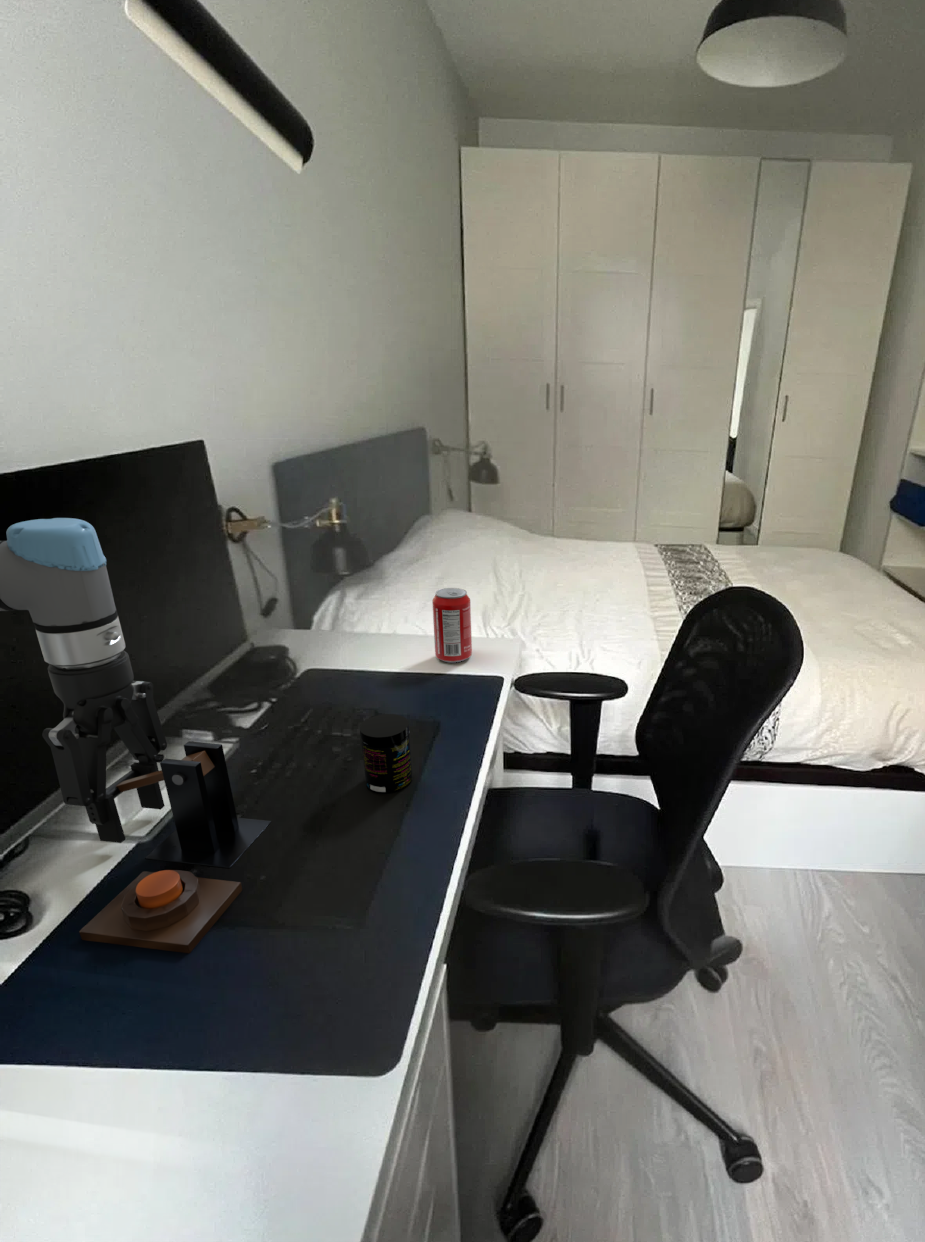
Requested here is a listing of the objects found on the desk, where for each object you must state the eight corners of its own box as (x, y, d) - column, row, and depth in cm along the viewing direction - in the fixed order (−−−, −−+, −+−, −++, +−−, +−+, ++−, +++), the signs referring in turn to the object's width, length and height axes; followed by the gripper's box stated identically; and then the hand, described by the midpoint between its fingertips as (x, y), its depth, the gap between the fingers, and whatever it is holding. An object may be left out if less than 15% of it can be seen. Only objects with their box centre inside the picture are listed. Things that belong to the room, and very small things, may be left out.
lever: (98, 811, 78) (87, 795, 77) (136, 783, 84) (125, 768, 83) (192, 785, 75) (181, 768, 74) (224, 758, 81) (214, 742, 80)
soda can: (446, 668, 135) (443, 600, 129) (428, 656, 141) (425, 590, 135) (478, 659, 140) (477, 593, 134) (460, 648, 145) (458, 584, 140)
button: (129, 907, 68) (126, 894, 67) (157, 880, 72) (153, 867, 71) (165, 911, 68) (161, 898, 67) (191, 884, 71) (187, 871, 71)
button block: (84, 947, 67) (73, 918, 66) (147, 885, 76) (139, 858, 74) (191, 961, 66) (184, 931, 65) (244, 896, 75) (238, 869, 73)
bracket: (146, 865, 79) (119, 769, 73) (195, 819, 87) (175, 730, 82) (231, 875, 78) (210, 778, 72) (273, 828, 86) (257, 738, 81)
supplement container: (420, 776, 98) (416, 716, 94) (403, 802, 92) (397, 739, 88) (378, 771, 99) (372, 711, 95) (358, 797, 93) (350, 734, 89)
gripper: (43, 696, 64) (100, 878, 73) (176, 630, 82) (209, 783, 91) (-25, 690, 65) (40, 871, 74) (121, 625, 83) (160, 777, 91)
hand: (133, 822), depth 82 cm, fingers closed on lever, 6 cm apart
